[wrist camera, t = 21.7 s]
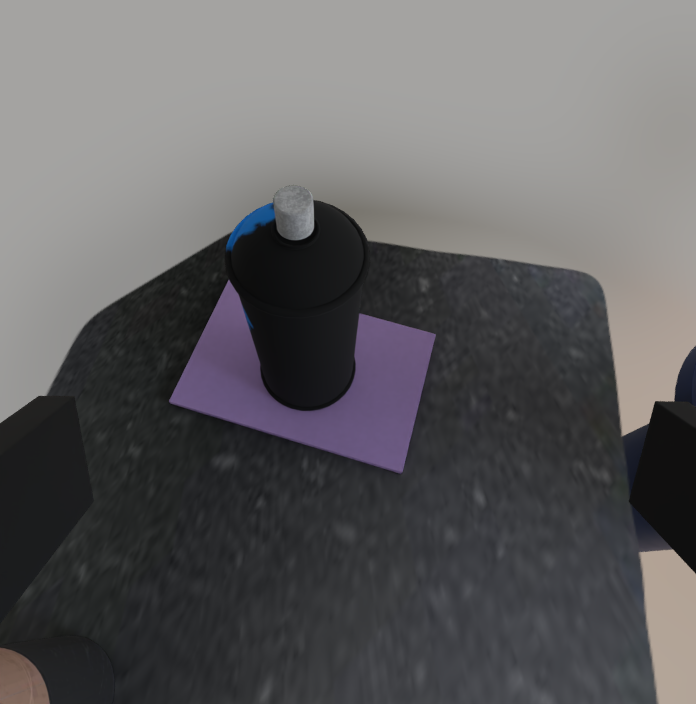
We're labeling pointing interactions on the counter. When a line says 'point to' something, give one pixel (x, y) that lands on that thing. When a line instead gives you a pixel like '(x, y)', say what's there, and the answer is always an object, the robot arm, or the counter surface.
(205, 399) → the towel
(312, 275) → the aerosol can
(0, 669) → the travel mug
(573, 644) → the counter surface
